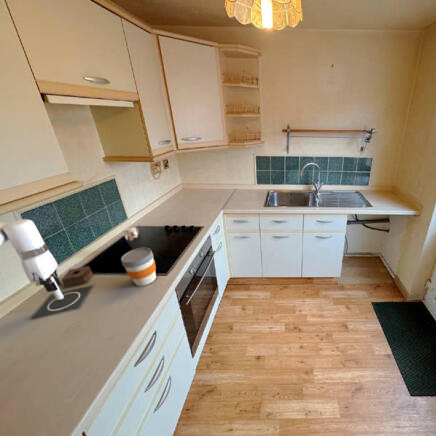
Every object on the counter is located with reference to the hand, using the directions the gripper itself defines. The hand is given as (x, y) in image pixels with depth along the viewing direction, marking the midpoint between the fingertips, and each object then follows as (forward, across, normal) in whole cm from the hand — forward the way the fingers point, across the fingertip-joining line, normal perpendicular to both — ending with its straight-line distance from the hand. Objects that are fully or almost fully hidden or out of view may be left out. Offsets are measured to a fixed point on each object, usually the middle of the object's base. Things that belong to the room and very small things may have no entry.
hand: (54, 288), depth 95 cm
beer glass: (+9, -35, +22) cm, 42 cm away
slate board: (+9, -2, 0) cm, 9 cm away
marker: (+7, 0, 0) cm, 7 cm away
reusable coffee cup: (+9, -5, +30) cm, 32 cm away
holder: (+9, -17, 0) cm, 19 cm away
